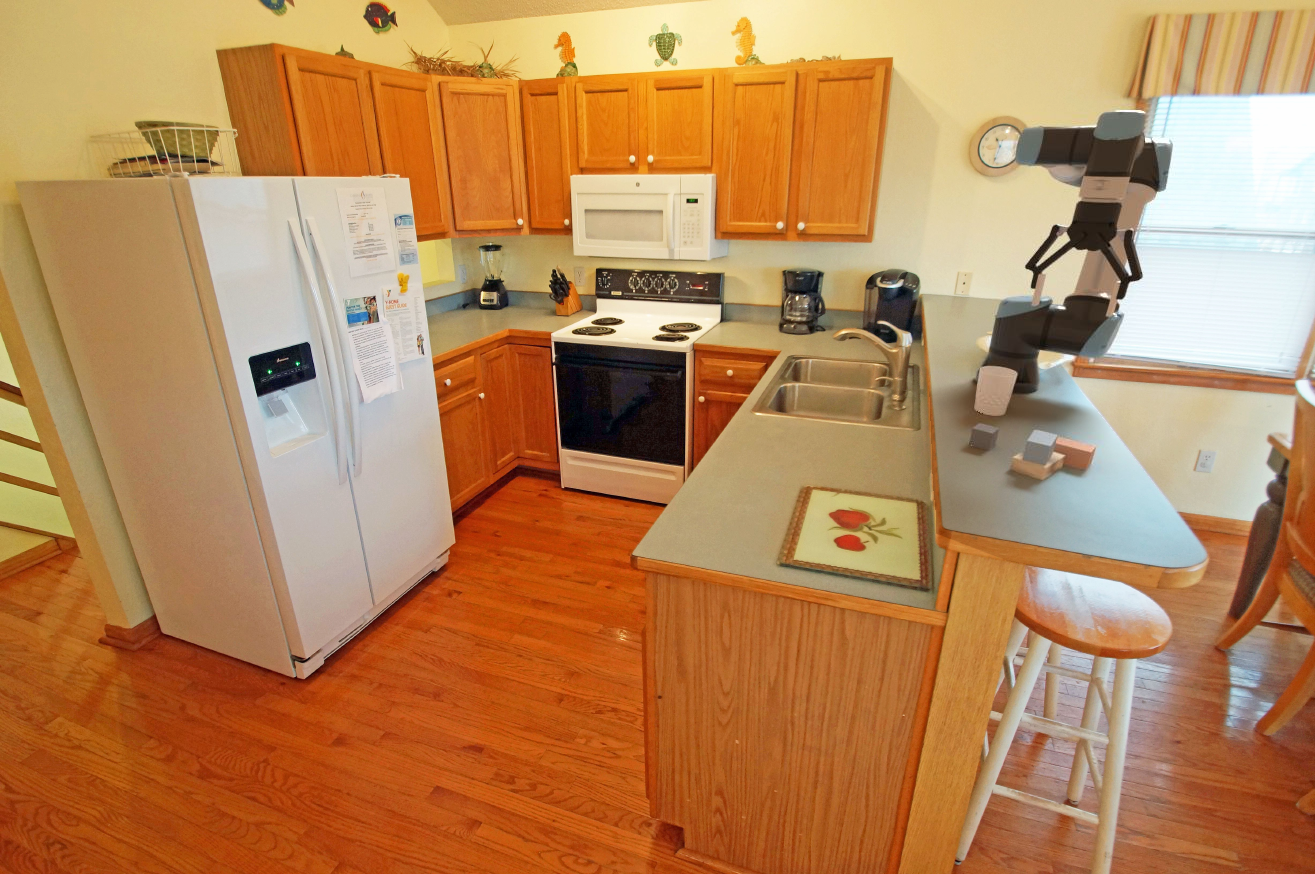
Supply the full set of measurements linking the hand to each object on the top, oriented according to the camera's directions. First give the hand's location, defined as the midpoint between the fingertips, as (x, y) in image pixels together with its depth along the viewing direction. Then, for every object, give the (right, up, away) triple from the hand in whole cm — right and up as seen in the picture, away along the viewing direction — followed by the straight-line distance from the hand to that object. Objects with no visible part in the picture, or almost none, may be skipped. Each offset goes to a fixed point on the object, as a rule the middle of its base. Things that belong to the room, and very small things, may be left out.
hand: (1071, 310), depth 133 cm
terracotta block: (-3, -31, -4) cm, 32 cm away
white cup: (-6, -20, +21) cm, 30 cm away
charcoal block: (-17, -28, +3) cm, 33 cm away
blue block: (-12, -30, -8) cm, 33 cm away
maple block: (-11, -33, -7) cm, 35 cm away
